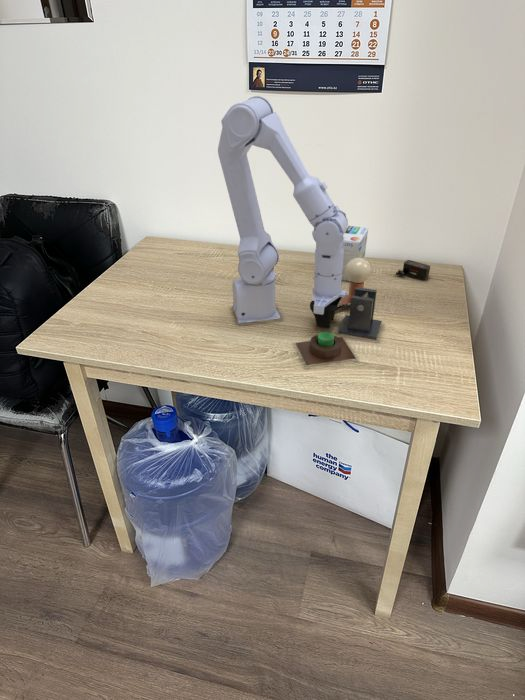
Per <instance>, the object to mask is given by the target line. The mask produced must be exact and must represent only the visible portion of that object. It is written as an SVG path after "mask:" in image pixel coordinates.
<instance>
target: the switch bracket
mask: <svg viewBox="0 0 525 700" xmlns="http://www.w3.org/2000/svg"><path fill="white" fill-rule="evenodd" d="M367 292H368V293H369V295H370V298H365V297H359V295H362V294H365V293H367ZM377 292H378V290H377V289H371V288H365V287H364V288H359V287H356V288H355V294H354V296H352V297H351V304H350V311H349V314H345V315H344V317H343V319H342V321H341V324H340V327H339V328H338V333H337V334H339V335H345V336H351V337H357V338H362V339H368V340H372V341H373V340H374V341H377V339H378V336H379V333H380V330H381V327H382V322H383V321H382V320H380V319H374V315H375V309H376V300H377Z"/></svg>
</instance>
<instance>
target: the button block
mask: <svg viewBox="0 0 525 700" xmlns="http://www.w3.org/2000/svg"><path fill="white" fill-rule="evenodd" d="M318 334H319V333H317V334H316V335H313V336H312V337H311V338H310V340H307V341H300V342H295V345H296V347H297V349H298V350H299V353H300V355H301V356H302V359H303V361H304V363H305V365H306V366H311V365H318V364H326V363H333V362H340V361H349V360H355V359H356V358H357V357H356V356H355V355H354V352H352V350H351V349H350V347H349V345H348V344H347V342H346V341H345V339H344V338H343V337H342V336H337V335H334V344H333V346H331V347H322V346H320V345H318Z"/></svg>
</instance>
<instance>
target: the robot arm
mask: <svg viewBox="0 0 525 700" xmlns="http://www.w3.org/2000/svg"><path fill="white" fill-rule="evenodd" d="M273 108H274V107H273V106H272V104H271V102H270V101H269V100H268V99H267V98H265V97H264V96H259V95H254V96H252V97H251V96H250V97H249V98H248V99H246V100H244V101H242V102H237V103H234V104H233V105H232V106H230V107H229V109H228V110H227V111H226V113H225V114H224V116H223V117H222V119H221V121H220V122H221V131H220V137H219V141H218V146H217V154H218V159H219V163H220V166H221V170H222V175H223V178H224V182H225V186H226V189H227V193H228V197H229V201H230V205H231V208H232V212H233V216H234V220H235V223H236V227H237V231H238V236H239V244H238V249H237V256H238V264H237V272H238V275H239V276H240V277H239V278H235V279H233V280H232V284H231V285H232V288H231V289H232V309H233V312H234V315H235V318H236V320H237V322H238V323H239V324H245V323H253V322H262V321H270V320H272V321H273V320H279V319H281V315H280V313H279V312H278V309H277V307H276V293H277V292H276V291H277V289H276V288H277V287H276V283H277V276H276V272H275V267H276V265H277V264H278V262H279V260H280V253H279V250H278V248H277V247H276V246H275V244H274V243H273V240H272V237H271V234H269V233H268V232H267V231H266V230H265V227H264V222H263V218H262V213H261V209H260V206H259V200H258V196H257V193H256V188H255V183H254V179H253V175H252V172H251V167H250V162H249V158H248V152H250V149H251V148H252V146H254V147H257V148H260V149H264V150H268V151H269V152H270V153H271V154H272V156H273V158H274V159H275V161H276V162H277V163H278V165H279V166H280V167H281V169H282V170H283V172H284V173H285V174H286V176H287V178H288V179H289V180H290V182H291V183H292V185H293V192H292V196H293V198H294V200H295V202H296V203H297V204H298V206H299V208H300V209H301V211H302V213H303V214H304V216H305V218H306V219H307V221H308V222H309V224H310V225H311V226H312V227H313V230H312V231H311V234H312V238H313V241H314V242H315V249H314V270H313V271H314V272H313V288H312V297H313V300H311V301H310V303H309V309H310V310H311V312H312V314H313V316H314V320H315V324H316V327H317V328H323V329H330V327H331V324H332V323H331V322H332V321H334V318H335V315H336V314H334V312H335V310H336V309H337V307H339V303H340V302H341V298H342V297H345V296H346V295H347V290H345V289H342V281H343V280H342V269H343V256H344V249H343V247H344V237H343V235H344V233H345V232H346V230H347V226H349V221H348V218H347V214H346V213H345V211H343V210H342V209H341V208H339V206H338V205H335V204H334V202H333V200H332V198H331V197H330V195H329V194H328V191H327V189H328V186H327V184H326V182H325V181H322V182H321V180H320V178H318V177H317V176H312V175H310V174H309V173H308V171H307V169H306V167H305V165H304V163H303V160H301V157H300V156H299V154H298V151H297V150H296V148H295V147H294V143H293V142H292V141H291V139H290V137H289V135H288V133H287V131H286V129H285V127H284V125H283V121H282V119H281V118H280V116H279V114H278V113H277V112H276V111H274V109H273ZM333 314H334V317H333V318H332V316H333Z"/></svg>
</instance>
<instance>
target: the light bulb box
mask: <svg viewBox="0 0 525 700" xmlns="http://www.w3.org/2000/svg"><path fill="white" fill-rule="evenodd" d="M368 233H369V228H368V227H364V226H356V225H355V226H354V225H348V226H347V230H346V232H345V233H344V235H343V237H344V247H343V249H344V256H343V269H342V281H344V282H345V281H346V282H350V280H349V279H348V278H347V276H346V273H345V269H346V265H347V264H348V262H349V261H350V260H352V259H354V258H363V259H365V260H366V251H367V242H368Z"/></svg>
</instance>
